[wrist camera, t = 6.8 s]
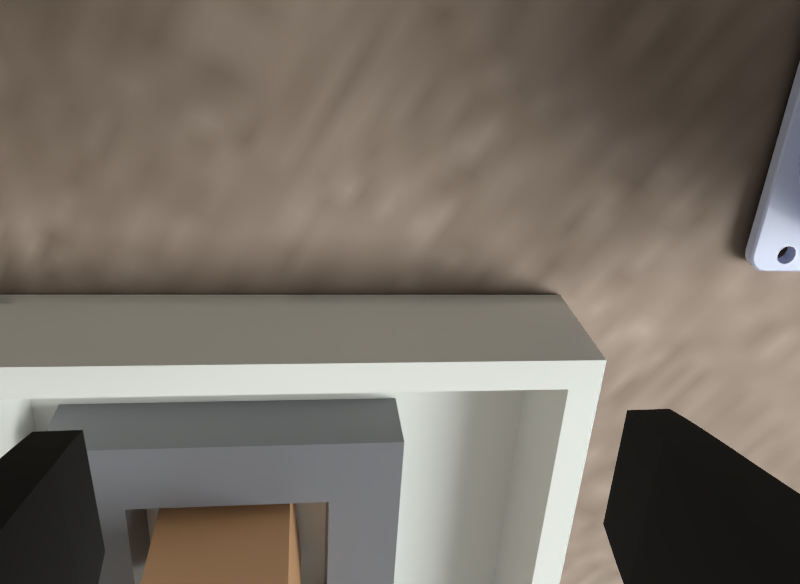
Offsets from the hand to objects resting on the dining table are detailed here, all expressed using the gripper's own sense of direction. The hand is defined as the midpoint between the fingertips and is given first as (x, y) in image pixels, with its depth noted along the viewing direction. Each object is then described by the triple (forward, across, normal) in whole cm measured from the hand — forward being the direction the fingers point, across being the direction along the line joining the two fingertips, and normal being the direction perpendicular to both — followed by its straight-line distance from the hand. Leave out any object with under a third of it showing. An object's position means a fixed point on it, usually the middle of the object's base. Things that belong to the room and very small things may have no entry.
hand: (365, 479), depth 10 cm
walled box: (+10, +2, +10) cm, 14 cm away
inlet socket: (+10, +3, +10) cm, 14 cm away
